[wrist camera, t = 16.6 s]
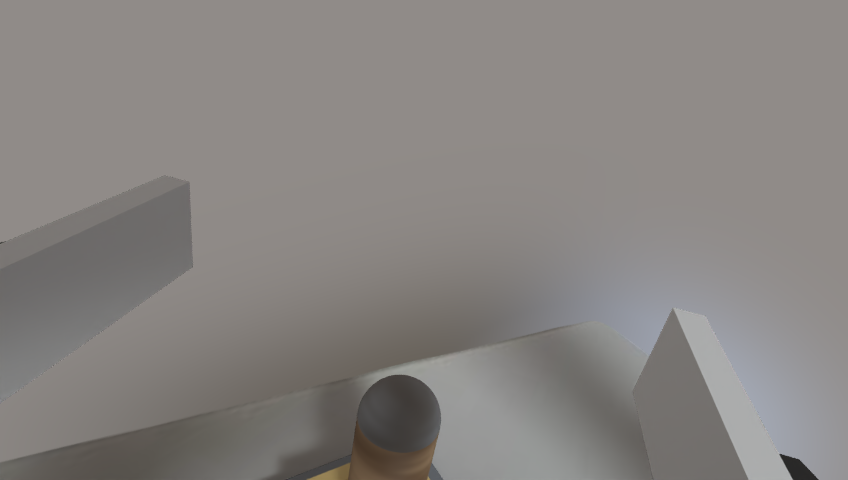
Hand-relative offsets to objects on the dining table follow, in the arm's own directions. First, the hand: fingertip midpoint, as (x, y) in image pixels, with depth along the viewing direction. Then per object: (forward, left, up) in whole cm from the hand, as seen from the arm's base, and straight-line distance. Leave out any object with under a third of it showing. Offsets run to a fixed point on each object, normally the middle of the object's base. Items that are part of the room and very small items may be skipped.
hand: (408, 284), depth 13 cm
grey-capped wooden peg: (-7, -8, -29) cm, 30 cm away
